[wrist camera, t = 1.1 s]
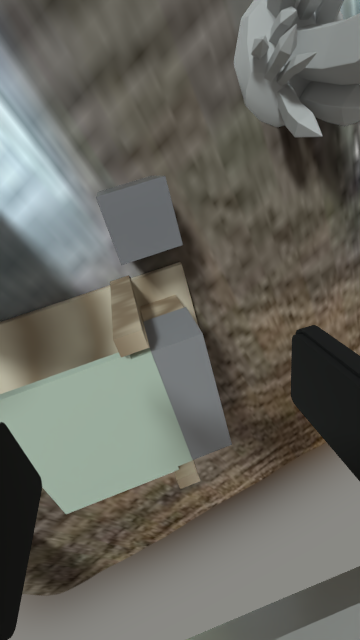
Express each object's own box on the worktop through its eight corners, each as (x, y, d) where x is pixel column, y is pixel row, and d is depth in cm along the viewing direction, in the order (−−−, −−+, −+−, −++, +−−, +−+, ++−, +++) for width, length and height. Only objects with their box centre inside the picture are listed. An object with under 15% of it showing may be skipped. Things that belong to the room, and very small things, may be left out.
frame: (179, 258, 30) (218, 302, 20) (212, 383, 39) (252, 459, 28) (-43, 332, 28) (-129, 424, 18) (44, 445, 37) (20, 553, 26)
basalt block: (150, 175, 26) (165, 175, 20) (166, 230, 29) (182, 244, 22) (97, 191, 26) (95, 197, 20) (117, 245, 28) (121, 265, 22)
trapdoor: (184, 301, 25) (201, 328, 21) (215, 410, 32) (232, 448, 28) (-2, 366, 24) (-26, 409, 20) (71, 466, 31) (66, 514, 26)
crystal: (310, -99, 21) (656, -560, 8) (355, 96, 27) (587, 22, 14) (198, -6, 22) (341, -283, 9) (268, 162, 28) (411, 150, 15)
